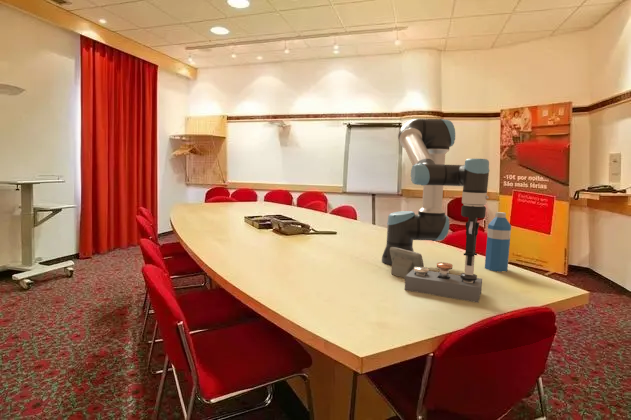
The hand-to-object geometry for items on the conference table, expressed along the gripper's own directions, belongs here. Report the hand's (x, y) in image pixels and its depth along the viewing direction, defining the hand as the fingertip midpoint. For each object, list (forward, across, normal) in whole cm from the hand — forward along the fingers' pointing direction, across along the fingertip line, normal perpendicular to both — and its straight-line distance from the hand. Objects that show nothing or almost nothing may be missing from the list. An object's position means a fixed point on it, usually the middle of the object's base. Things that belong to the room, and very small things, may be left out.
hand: (468, 274), depth 130 cm
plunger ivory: (+5, 0, +16) cm, 17 cm away
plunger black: (+5, 0, 0) cm, 5 cm away
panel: (+7, 0, +8) cm, 11 cm away
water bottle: (+8, +46, -7) cm, 47 cm away
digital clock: (+8, +13, +24) cm, 29 cm away
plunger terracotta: (+2, 0, +8) cm, 8 cm away
